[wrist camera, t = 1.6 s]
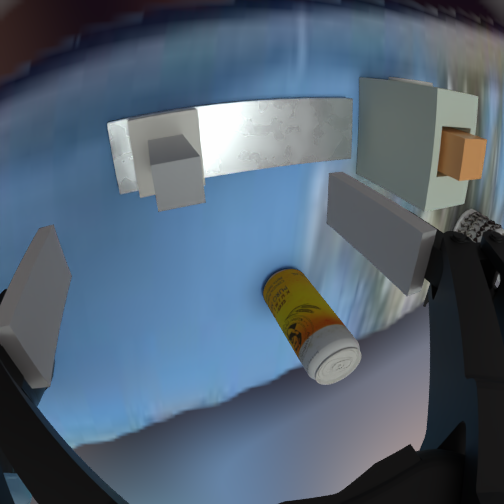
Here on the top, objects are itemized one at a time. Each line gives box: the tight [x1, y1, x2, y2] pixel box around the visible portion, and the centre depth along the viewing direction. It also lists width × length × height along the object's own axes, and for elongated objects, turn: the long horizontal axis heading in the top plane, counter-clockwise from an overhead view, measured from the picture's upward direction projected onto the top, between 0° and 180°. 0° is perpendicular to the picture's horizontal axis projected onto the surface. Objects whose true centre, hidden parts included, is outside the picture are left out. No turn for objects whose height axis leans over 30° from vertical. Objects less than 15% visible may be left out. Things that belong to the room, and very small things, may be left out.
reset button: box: [437, 126, 487, 181], centre depth 26 cm, size 4×4×5 cm
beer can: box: [263, 269, 361, 385], centre depth 37 cm, size 6×6×15 cm
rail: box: [107, 97, 353, 194], centre depth 31 cm, size 25×7×2 cm, turn 93°
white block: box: [356, 77, 478, 212], centre depth 31 cm, size 7×12×12 cm, turn 3°
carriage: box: [127, 108, 206, 212], centre depth 24 cm, size 6×7×11 cm
